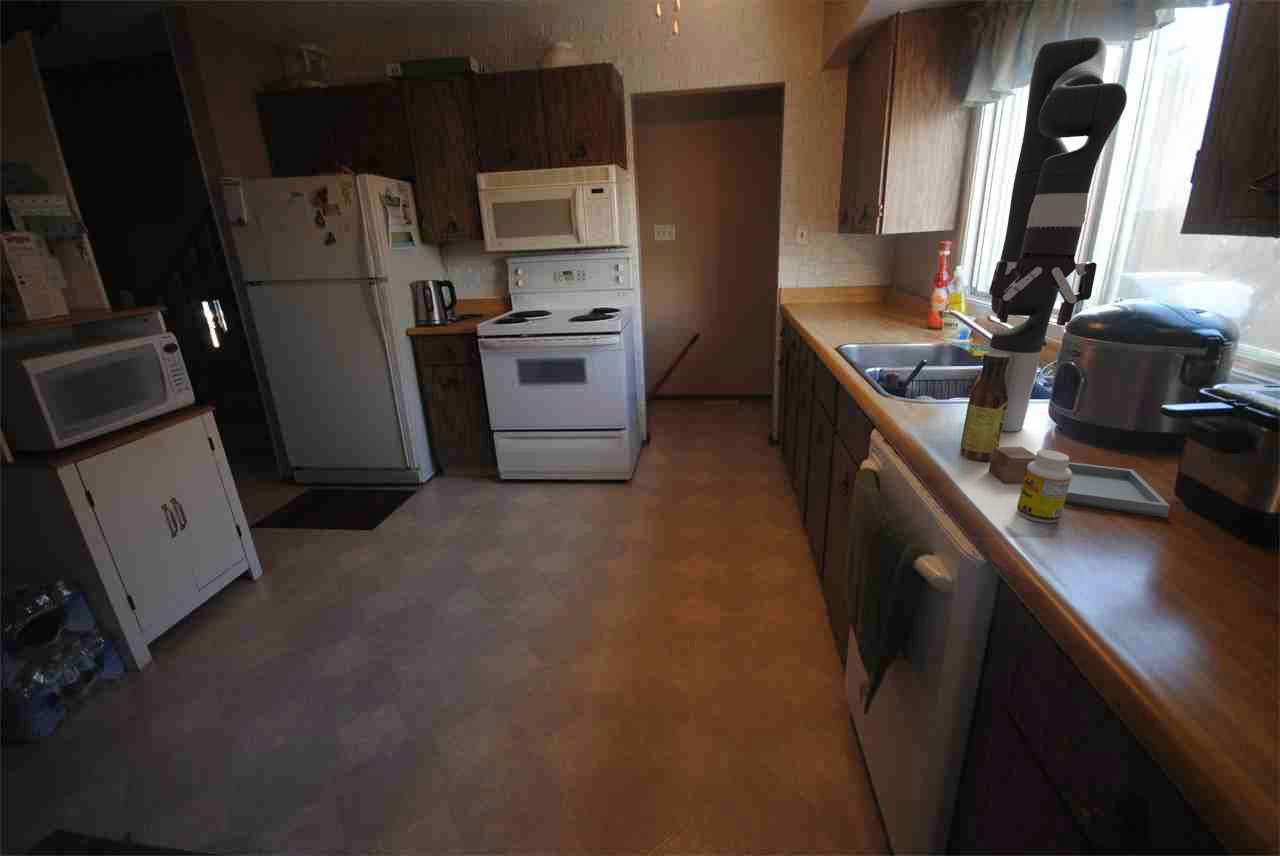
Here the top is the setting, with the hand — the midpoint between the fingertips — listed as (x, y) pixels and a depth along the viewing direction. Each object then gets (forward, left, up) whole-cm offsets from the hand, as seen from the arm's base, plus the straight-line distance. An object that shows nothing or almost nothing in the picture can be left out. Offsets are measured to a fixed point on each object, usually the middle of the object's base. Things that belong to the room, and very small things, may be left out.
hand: (1031, 323), depth 97 cm
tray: (+9, +12, -26) cm, 30 cm away
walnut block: (+8, 0, -26) cm, 27 cm away
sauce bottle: (-1, -4, -26) cm, 26 cm away
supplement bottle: (+22, +1, -26) cm, 34 cm away
